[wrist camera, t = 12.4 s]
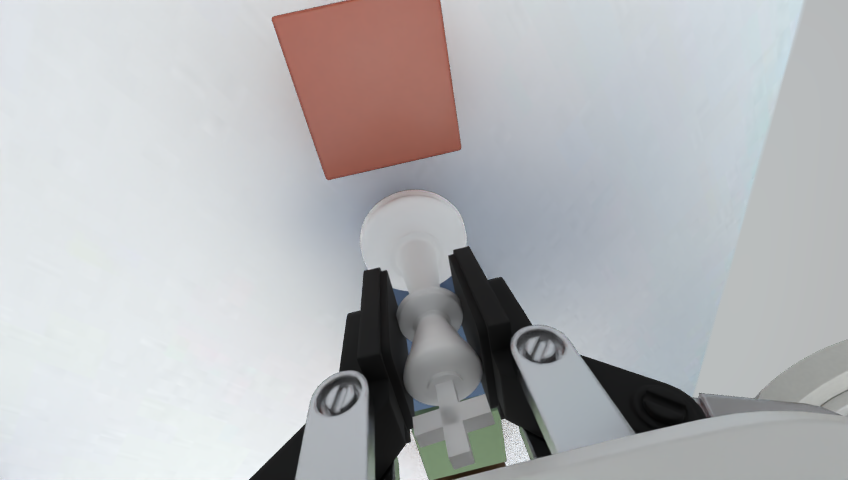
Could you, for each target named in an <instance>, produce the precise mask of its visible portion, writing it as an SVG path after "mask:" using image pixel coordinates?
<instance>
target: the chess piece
mask: <svg viewBox="0 0 848 480" xmlns="http://www.w3.org/2000/svg"><path fill="white" fill-rule="evenodd" d="M360 247H361V252H362V256H363V260H364V262H365V264H366V266H367V268H368V270H370V269H374V268H379V267H380V268H381V271H384V270H387V271H388V274H389V278H390V281H391V284H392V288H394V289H398V290H403V291H408V292H409V295H407V296H406V297H405V298H404V299H403V300H402V302H401V303H400V305H399V307H398V309H397V313H396V317H397V320H398V324H399V328H400V330H401V332H402V334H403V335H404V336H405V337H406V338H407V339H408V340H410V341H412V347H411V350H410V353H409V355H408V357H407V360H406V364H405V367H404V373H403V381H404V386H405V388H406V390H407V392H408V393H409V394H410V395H411V396H412V397H413V398H414V399H415V400H417V401H419V402H421V403H424V404H427V405H433V406H439V409H436V410H433V411H430V412H427V413H424V414H421V415H418V416H415V417H412V418H413V428H414V436H415V438H416V440H417V442H418V444H419V446H420V448H422V447H425V446H428V445H431V444H434V443H437V442H440V441H444V440H445V442H446V447H447V453H448V458H449V460H450V462H451V464H452V466H453V469H454V470H455V469H458V468H461V467H465V466H468V465H471V464H474V463H475V461H474V457H473V453H472V449H471V445H470V441H469V437H468V433H469V432H472V431H475V430H478V429H481V428H484V427H487V426H490V425H494V424H495V422H494V419H493V416H492V413H491V410H490V407H489V404H488V401H487V398H486V395H485V394H483V395H480V396H477V397H474V398H471V399H467V400H464V401H461V400H463V399H464V398H466V397H467V396H469V395H470V394H471V393H472V392H473V391H474V390H475V389H476V387H477V386H478V384H479V383H480V380H481V377H482V371H483V370H482V363H481V361H480V358H479V357H478V355H477V353H476V352H475V351H474V350H473V348H472V347H471V346H470V345H469V344H468V343H467V342H466V341H465V340H463V339H462V337H461V336H460V335H459V334H458V332H457V331H458V330H459V328H460V326H461V324H462V320H463V312H462V308H461V303H460V299H459V298H458V296H457V295H456V294H454V293H453V292H452V291H450V290H448V289H445V288H442V287H440V284H441V283H442V282H444V281H445V280H447V279H448V278H449V277H450V276H451V269H450V264H449V259H448V255H451V254H453V250H455V249H459V248H463V247H467V235H466V230H465V225H464V222H463V219H462V217H461V215H460V213H459V212H458V210H457V209H456V208H455V207H454V205H453V204H451V203H450V202H449V201H448V200H447V199H445V198H444V197H442V196H440V195H438V194H436V193H433V192H429V191H425V190H405V191H401V192H397V193H394V194H392V195H390V196H388V197H386V198H384V199H383V200H381V201H380V202H379V203H377V204H376V205H375V206H374V207H373V208H372V209H371V211H370V212H369V213H368V215H367V216H366V218H365V220H364V222H363V225H362V228H361V233H360ZM459 401H461V402H459Z"/></svg>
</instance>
